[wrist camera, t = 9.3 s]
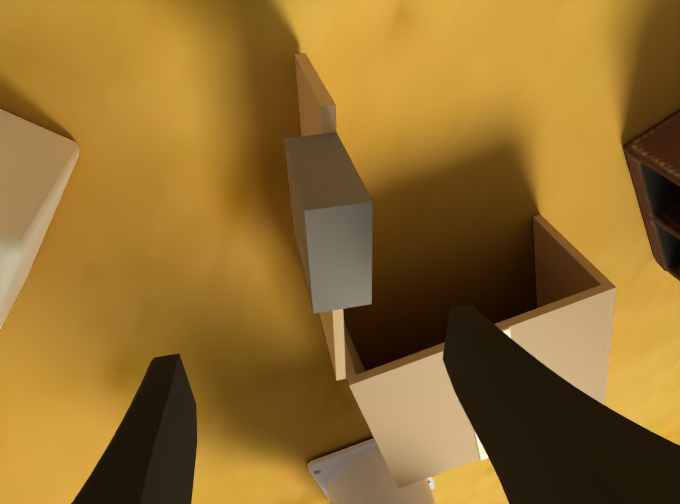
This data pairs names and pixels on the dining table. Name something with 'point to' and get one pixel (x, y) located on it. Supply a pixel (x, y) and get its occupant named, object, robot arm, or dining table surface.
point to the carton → (525, 329)
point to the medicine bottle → (27, 196)
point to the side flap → (328, 213)
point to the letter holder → (659, 188)
